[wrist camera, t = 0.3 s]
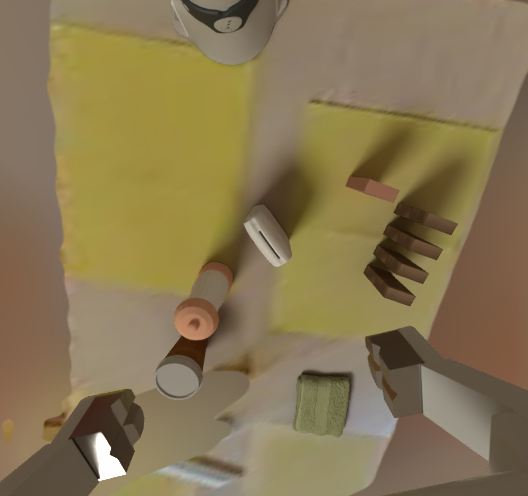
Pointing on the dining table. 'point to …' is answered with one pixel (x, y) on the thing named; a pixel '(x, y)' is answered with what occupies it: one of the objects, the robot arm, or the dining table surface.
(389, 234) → the walnut domino
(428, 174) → the dining table surface
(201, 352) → the disposable coffee cup
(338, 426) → the washcloth
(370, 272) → the walnut domino
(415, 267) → the walnut domino
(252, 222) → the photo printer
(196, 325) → the pepper shaker
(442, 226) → the walnut domino
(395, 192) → the terracotta domino
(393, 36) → the dining table surface
